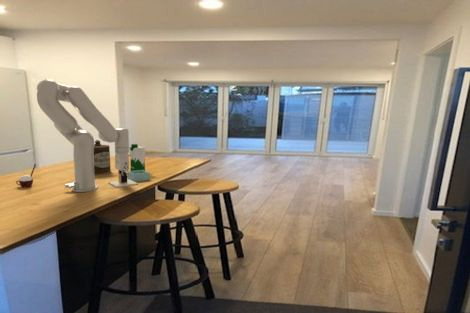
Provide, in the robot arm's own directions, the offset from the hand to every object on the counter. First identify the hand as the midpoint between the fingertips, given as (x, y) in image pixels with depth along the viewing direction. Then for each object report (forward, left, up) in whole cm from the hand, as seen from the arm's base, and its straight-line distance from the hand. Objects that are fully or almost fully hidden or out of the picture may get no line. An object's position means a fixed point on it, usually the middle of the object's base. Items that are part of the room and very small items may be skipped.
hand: (122, 181), depth 173 cm
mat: (0, 0, -2) cm, 2 cm away
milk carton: (+20, +25, -2) cm, 32 cm away
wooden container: (0, +43, -2) cm, 43 cm away
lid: (0, 0, -2) cm, 2 cm away
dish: (+12, +6, -2) cm, 14 cm away
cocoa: (-43, +26, -2) cm, 50 cm away
